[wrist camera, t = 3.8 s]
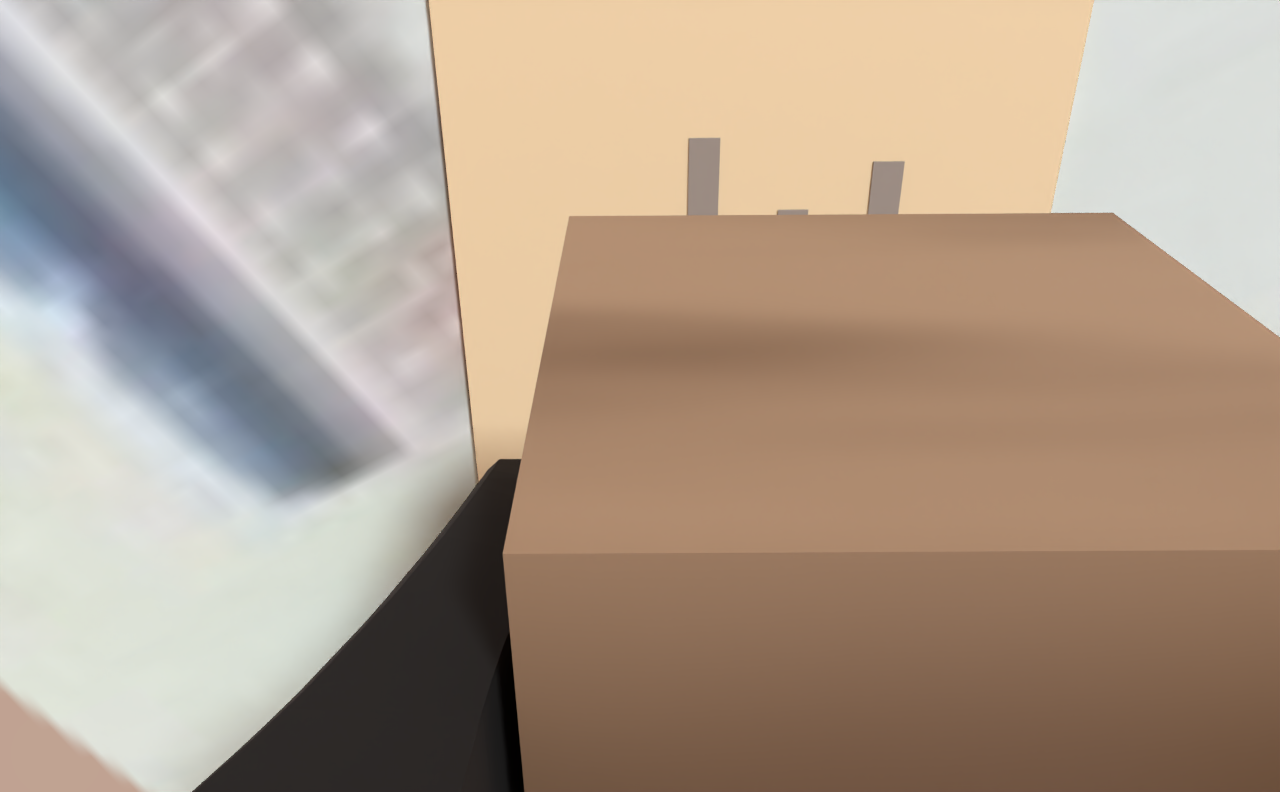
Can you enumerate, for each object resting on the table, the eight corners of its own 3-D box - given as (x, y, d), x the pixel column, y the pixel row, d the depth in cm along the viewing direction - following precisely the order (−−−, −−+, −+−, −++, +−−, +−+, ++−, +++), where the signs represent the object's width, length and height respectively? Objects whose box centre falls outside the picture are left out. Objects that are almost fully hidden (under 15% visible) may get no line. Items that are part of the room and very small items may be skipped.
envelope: (977, 551, 20) (980, 557, 20) (487, 554, 20) (486, 560, 20) (1145, -279, 13) (1152, -280, 13) (402, -273, 13) (399, -275, 13)
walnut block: (1015, 627, 11) (1251, 1107, 7) (586, 629, 11) (553, 1109, 7) (1112, 213, 9) (1565, 548, 5) (569, 216, 9) (502, 554, 5)
